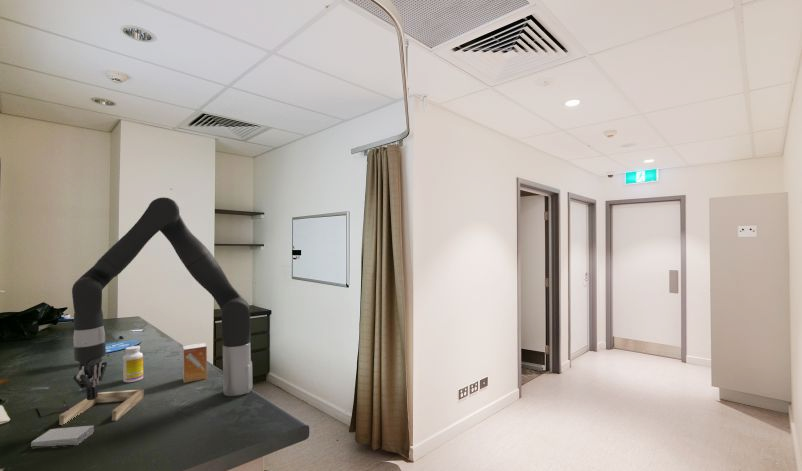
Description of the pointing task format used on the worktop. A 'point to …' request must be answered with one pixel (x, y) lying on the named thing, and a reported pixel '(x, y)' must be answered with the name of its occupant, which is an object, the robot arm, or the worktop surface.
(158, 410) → the worktop surface
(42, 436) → the cover plate
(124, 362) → the supplement bottle
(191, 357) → the small box
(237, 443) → the worktop surface
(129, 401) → the wooden bracket
